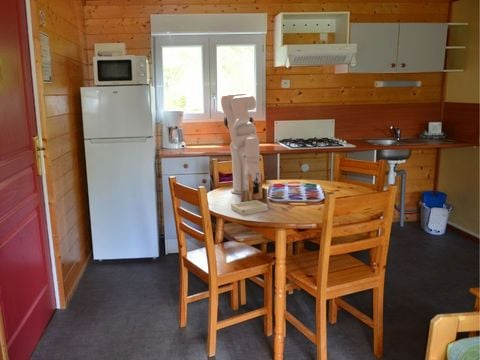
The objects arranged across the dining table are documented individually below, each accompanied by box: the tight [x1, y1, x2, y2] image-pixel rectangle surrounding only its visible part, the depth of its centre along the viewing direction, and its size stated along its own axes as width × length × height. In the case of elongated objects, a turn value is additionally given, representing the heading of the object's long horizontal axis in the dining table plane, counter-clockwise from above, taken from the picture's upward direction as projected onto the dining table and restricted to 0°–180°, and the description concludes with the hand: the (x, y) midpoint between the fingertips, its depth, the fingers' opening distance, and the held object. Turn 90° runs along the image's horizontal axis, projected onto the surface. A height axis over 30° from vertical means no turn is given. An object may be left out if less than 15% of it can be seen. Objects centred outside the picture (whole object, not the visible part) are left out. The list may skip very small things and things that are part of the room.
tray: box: [230, 200, 270, 216], centre depth 223 cm, size 13×15×3 cm
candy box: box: [245, 172, 263, 201], centre depth 236 cm, size 9×4×15 cm, turn 122°
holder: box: [240, 186, 268, 203], centre depth 236 cm, size 7×13×7 cm, turn 117°
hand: (253, 192), depth 236 cm, fingers closed on candy box, 4 cm apart
